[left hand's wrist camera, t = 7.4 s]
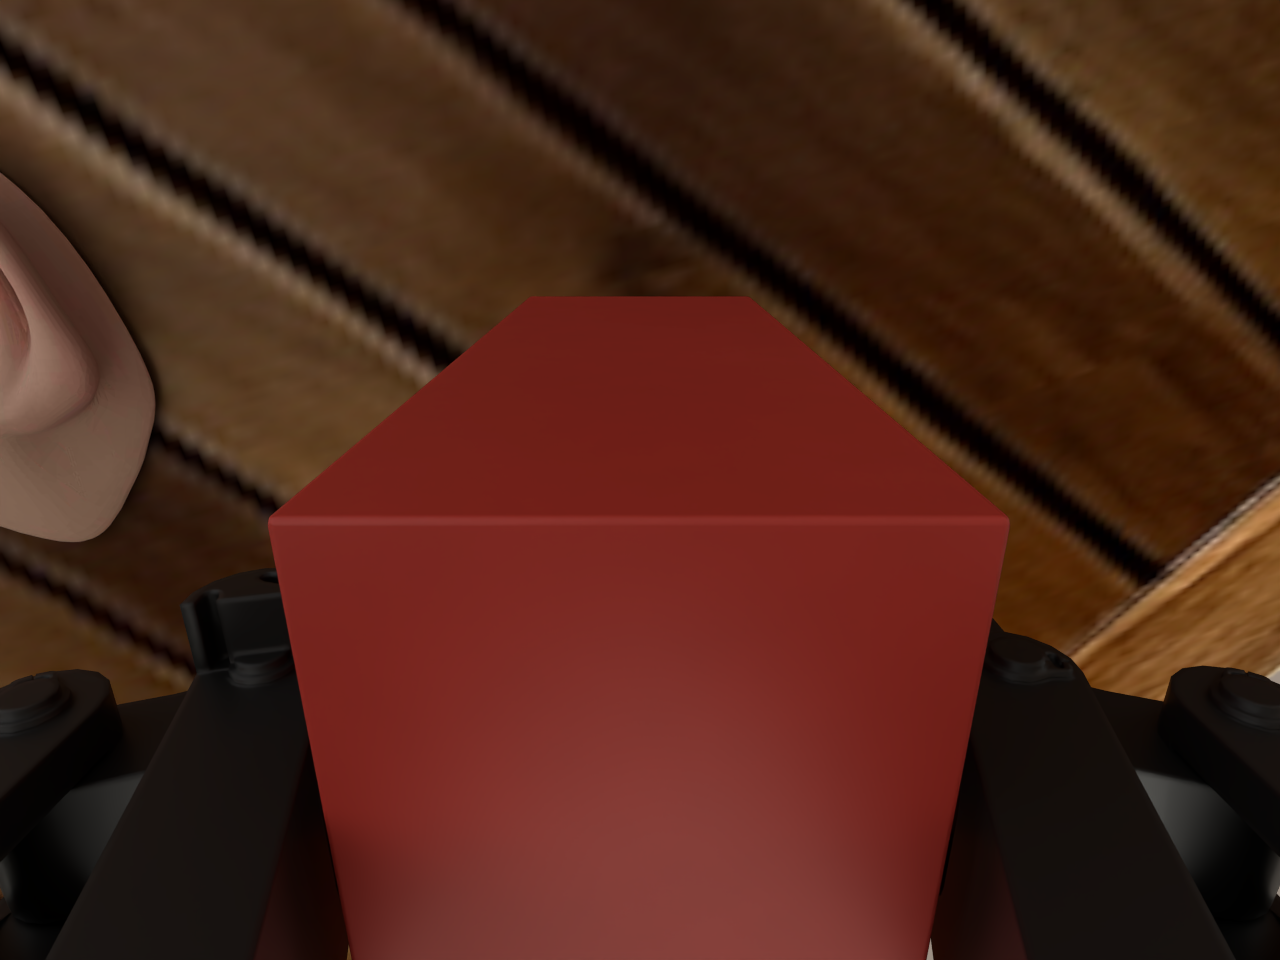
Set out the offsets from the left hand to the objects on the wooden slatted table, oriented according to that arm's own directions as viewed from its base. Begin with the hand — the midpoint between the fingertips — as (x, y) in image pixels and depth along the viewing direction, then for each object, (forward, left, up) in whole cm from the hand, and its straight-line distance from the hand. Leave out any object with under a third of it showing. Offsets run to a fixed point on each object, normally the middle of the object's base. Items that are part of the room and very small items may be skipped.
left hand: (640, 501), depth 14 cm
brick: (0, 0, -3) cm, 3 cm away
